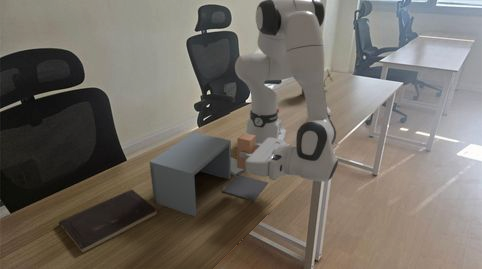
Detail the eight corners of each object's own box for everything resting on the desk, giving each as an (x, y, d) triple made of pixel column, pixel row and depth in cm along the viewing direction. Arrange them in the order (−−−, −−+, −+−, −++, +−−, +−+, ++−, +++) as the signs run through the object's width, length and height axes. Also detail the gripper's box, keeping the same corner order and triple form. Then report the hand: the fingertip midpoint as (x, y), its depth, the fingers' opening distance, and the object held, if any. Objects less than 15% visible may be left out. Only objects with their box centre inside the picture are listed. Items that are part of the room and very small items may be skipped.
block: (242, 161, 113) (243, 132, 109) (254, 164, 112) (255, 135, 107) (237, 167, 110) (237, 137, 105) (249, 170, 108) (250, 140, 103)
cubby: (195, 168, 126) (193, 132, 120) (230, 177, 120) (230, 140, 114) (154, 202, 106) (149, 161, 100) (194, 216, 100) (191, 173, 94)
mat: (237, 175, 122) (237, 174, 122) (267, 183, 117) (267, 182, 117) (222, 191, 112) (222, 190, 112) (254, 201, 107) (254, 200, 107)
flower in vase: (326, 120, 172) (333, 73, 162) (306, 115, 178) (311, 70, 167) (334, 112, 182) (340, 68, 172) (314, 108, 188) (319, 65, 177)
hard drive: (250, 165, 126) (227, 154, 134) (236, 173, 121) (213, 161, 128) (250, 169, 127) (227, 158, 135) (235, 177, 121) (213, 165, 129)
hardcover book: (158, 215, 101) (157, 209, 100) (82, 255, 86) (80, 248, 85) (131, 194, 111) (130, 188, 110) (59, 226, 96) (58, 220, 95)
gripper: (294, 137, 111) (256, 129, 116) (273, 164, 94) (230, 154, 99) (292, 154, 113) (255, 145, 118) (271, 183, 96) (230, 172, 102)
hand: (243, 149), depth 109 cm, fingers closed on block, 4 cm apart
